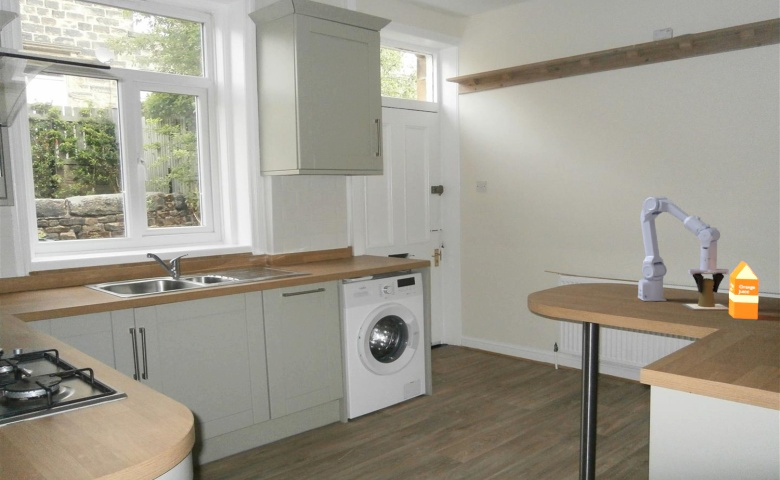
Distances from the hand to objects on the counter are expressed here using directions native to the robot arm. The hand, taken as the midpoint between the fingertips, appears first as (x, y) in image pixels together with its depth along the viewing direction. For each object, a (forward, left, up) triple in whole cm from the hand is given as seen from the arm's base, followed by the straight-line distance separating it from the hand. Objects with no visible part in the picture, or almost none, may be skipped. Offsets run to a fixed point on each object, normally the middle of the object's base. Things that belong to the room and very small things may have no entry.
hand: (707, 292), depth 234 cm
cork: (0, +1, -6) cm, 6 cm away
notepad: (0, 0, -6) cm, 6 cm away
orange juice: (+6, -16, -6) cm, 18 cm away
